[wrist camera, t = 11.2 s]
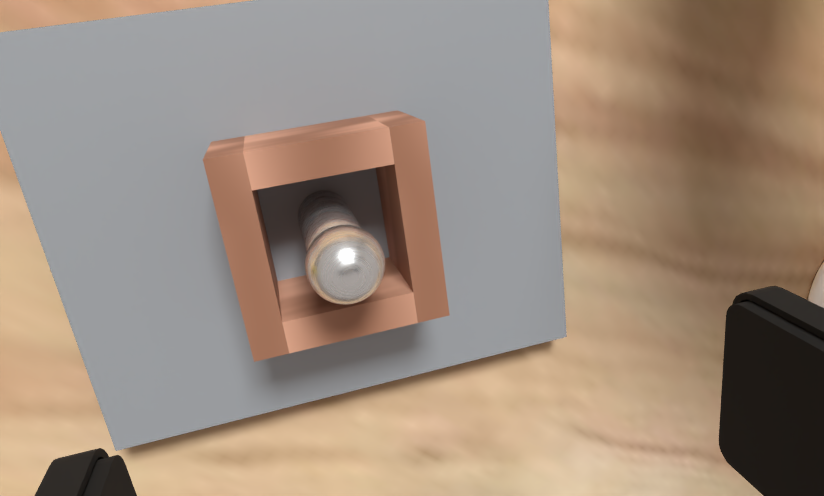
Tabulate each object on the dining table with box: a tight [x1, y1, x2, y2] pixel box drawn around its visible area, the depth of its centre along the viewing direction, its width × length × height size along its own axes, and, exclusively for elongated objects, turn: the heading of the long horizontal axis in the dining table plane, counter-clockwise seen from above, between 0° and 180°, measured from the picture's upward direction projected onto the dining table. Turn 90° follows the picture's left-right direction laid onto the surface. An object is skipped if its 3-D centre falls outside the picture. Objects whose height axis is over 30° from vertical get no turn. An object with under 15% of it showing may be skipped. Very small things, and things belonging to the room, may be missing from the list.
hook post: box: [298, 190, 385, 305], centre depth 20 cm, size 2×2×7 cm
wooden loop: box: [203, 110, 450, 362], centre depth 22 cm, size 7×7×4 cm
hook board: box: [0, 0, 566, 451], centre depth 24 cm, size 20×16×2 cm
